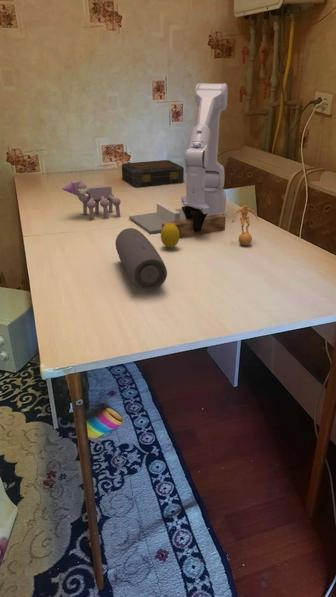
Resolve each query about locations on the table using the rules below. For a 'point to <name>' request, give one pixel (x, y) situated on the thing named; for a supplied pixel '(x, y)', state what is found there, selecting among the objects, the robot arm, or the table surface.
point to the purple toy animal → (94, 197)
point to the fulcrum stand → (157, 218)
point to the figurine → (245, 236)
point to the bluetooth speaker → (140, 259)
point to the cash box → (152, 173)
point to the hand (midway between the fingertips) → (194, 229)
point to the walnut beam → (209, 225)
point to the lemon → (170, 235)
